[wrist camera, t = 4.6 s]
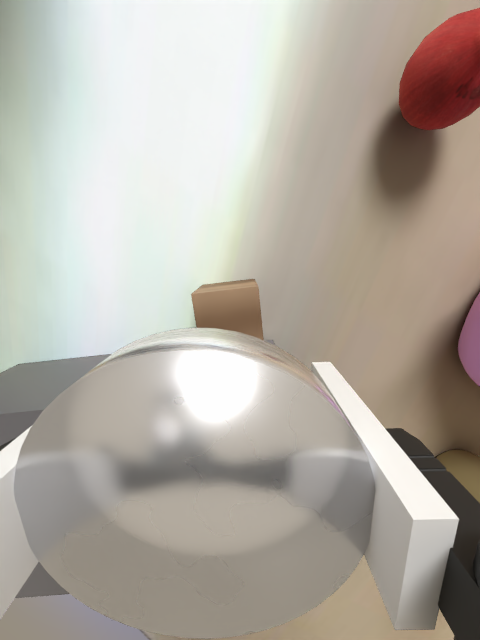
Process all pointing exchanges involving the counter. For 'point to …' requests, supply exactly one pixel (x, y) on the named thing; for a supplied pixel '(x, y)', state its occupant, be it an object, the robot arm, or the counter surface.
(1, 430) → the box
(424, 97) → the onion
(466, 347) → the teapot
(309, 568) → the disc
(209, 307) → the brown wooden block
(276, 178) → the counter surface
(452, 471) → the squeeze bottle
